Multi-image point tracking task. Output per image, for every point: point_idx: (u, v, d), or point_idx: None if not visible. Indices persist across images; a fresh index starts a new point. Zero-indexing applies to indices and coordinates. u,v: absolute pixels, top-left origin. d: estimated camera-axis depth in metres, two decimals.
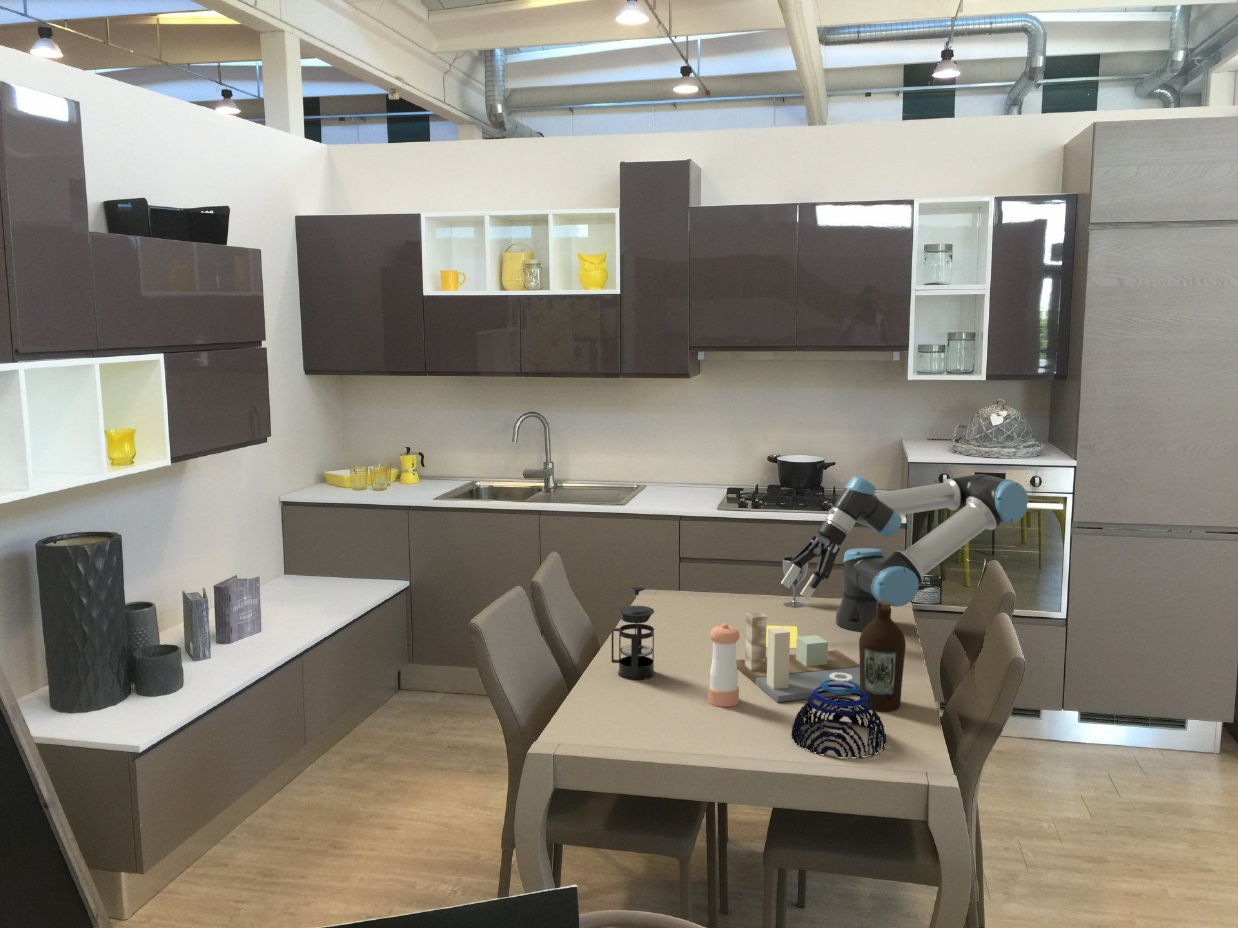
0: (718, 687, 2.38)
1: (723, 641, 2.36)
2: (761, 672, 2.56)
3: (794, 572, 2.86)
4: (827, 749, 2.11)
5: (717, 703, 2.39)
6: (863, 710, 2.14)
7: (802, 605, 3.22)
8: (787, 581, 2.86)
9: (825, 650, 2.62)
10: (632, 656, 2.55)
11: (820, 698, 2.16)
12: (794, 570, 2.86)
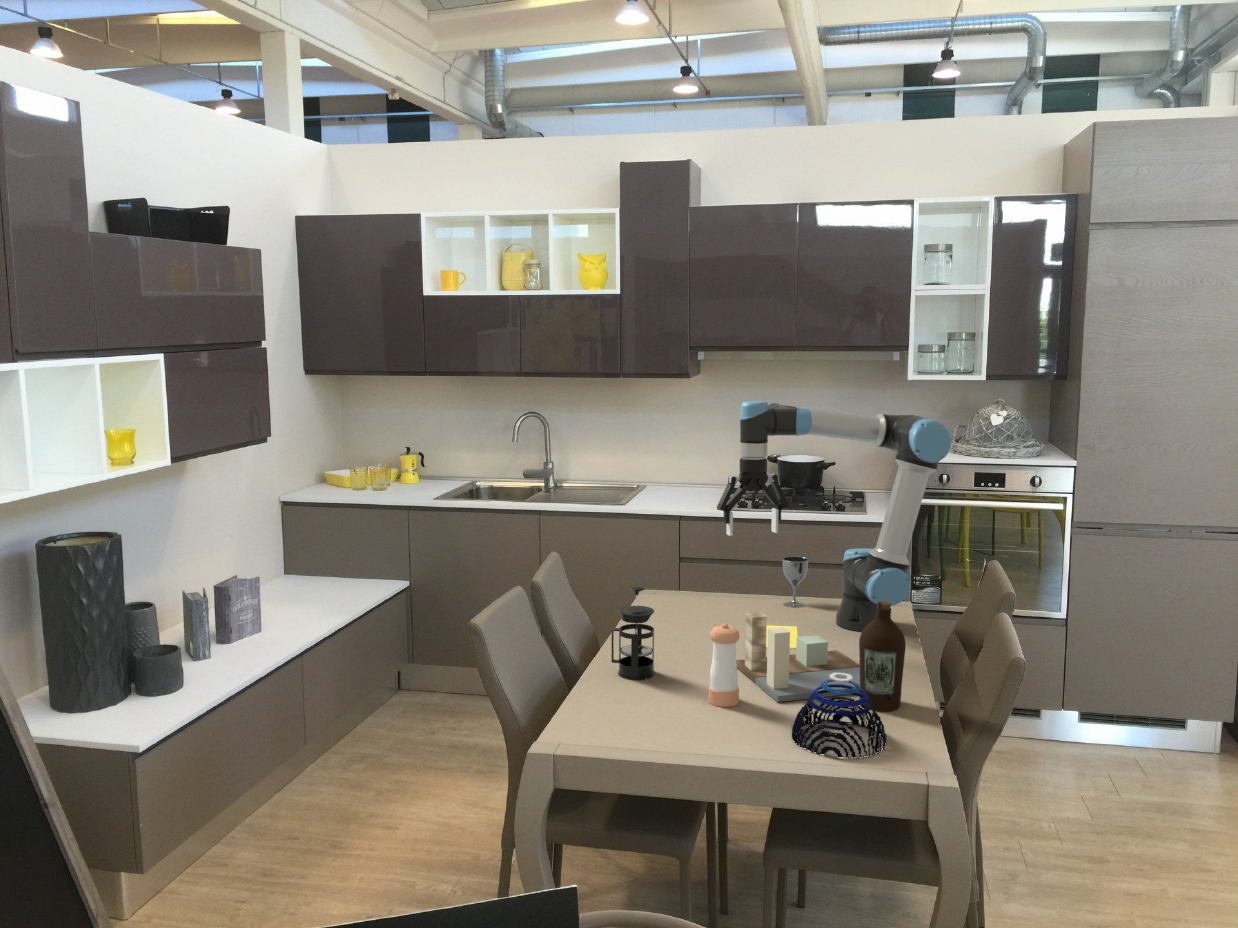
0: (718, 687, 2.38)
1: (723, 641, 2.36)
2: (761, 672, 2.56)
3: (773, 515, 2.81)
4: (827, 749, 2.11)
5: (717, 703, 2.39)
6: (863, 710, 2.14)
7: (802, 605, 3.22)
8: (773, 527, 2.81)
9: (825, 650, 2.62)
10: (632, 656, 2.55)
11: (820, 698, 2.16)
12: (773, 513, 2.81)
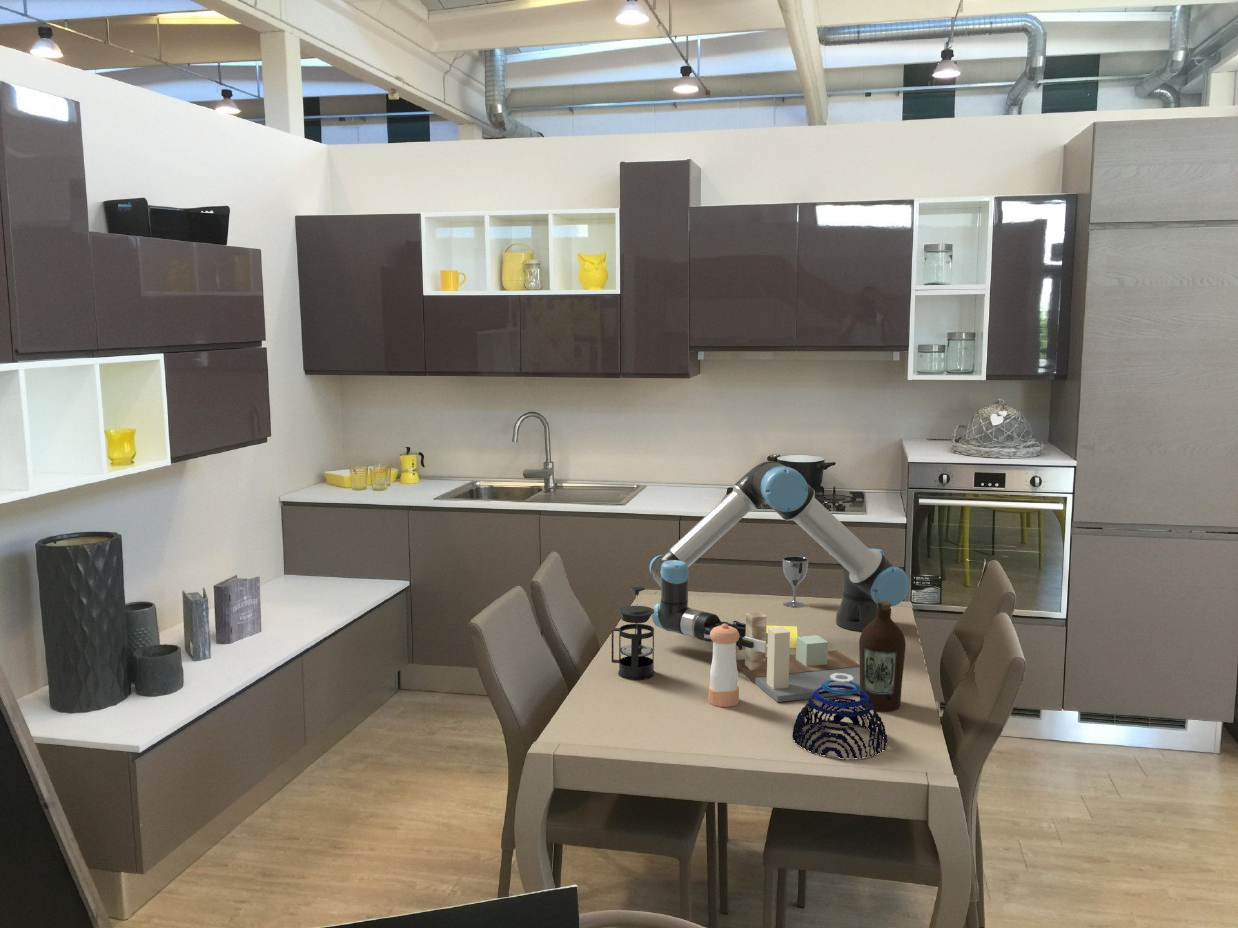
0: (718, 687, 2.38)
1: (723, 641, 2.36)
2: (761, 672, 2.56)
3: None
4: (828, 750, 2.11)
5: (717, 703, 2.39)
6: (864, 711, 2.13)
7: (802, 605, 3.22)
8: None
9: (825, 650, 2.62)
10: (632, 656, 2.55)
11: (821, 699, 2.16)
12: None
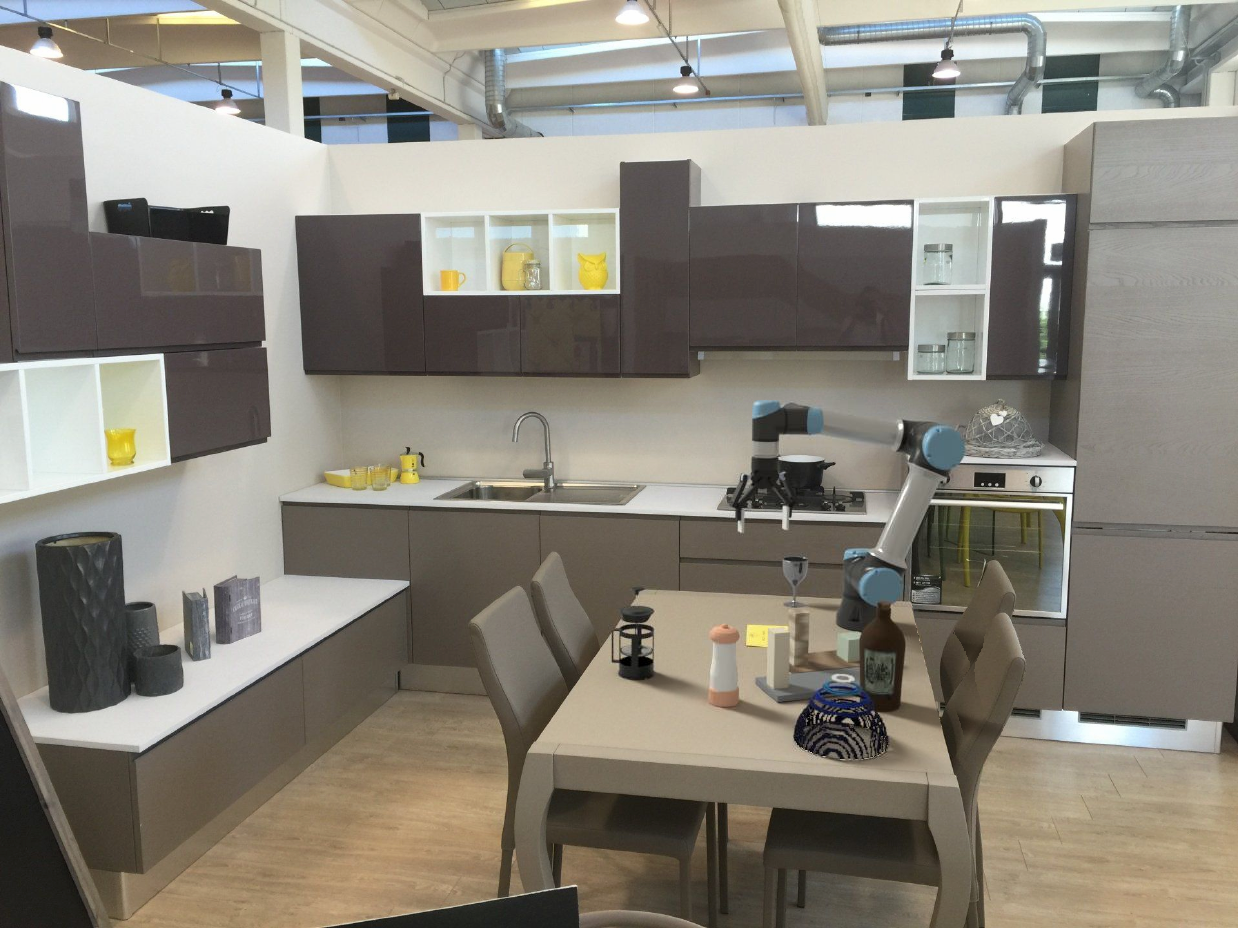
0: (718, 687, 2.38)
1: (723, 641, 2.36)
2: (804, 668, 2.60)
3: (784, 513, 2.85)
4: (829, 751, 2.10)
5: (717, 703, 2.39)
6: (865, 712, 2.13)
7: (802, 605, 3.22)
8: (783, 524, 2.86)
9: None
10: (632, 656, 2.55)
11: (822, 700, 2.15)
12: (784, 511, 2.85)
